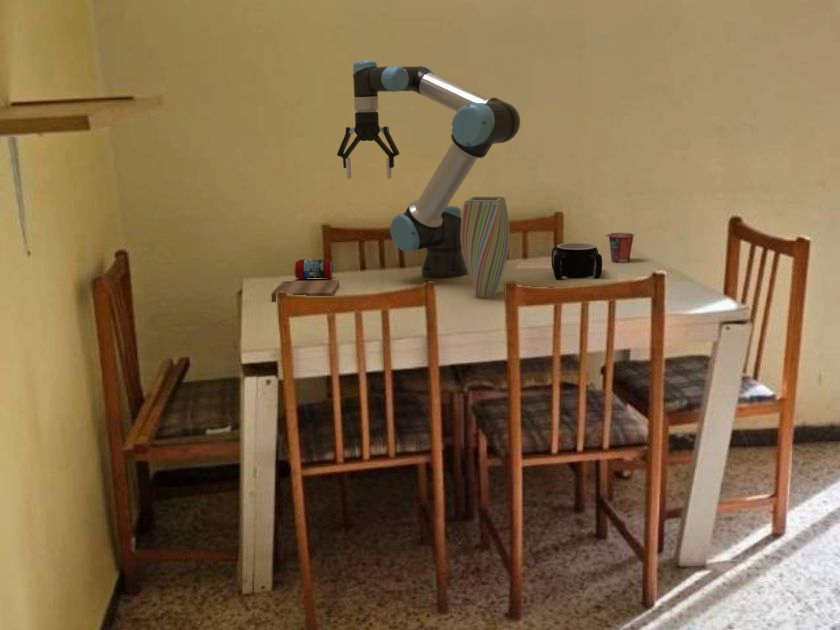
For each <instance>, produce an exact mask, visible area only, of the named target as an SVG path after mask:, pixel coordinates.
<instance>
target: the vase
mask: <svg viewBox="0 0 840 630" xmlns="http://www.w3.org/2000/svg"><path fill="white" fill-rule="evenodd" d="M462 206H463V207H462V211H461V218H462V219H461V245H462V254H463V257H464V260H465V263H466V266H467V272H468V274H469V276H470V279H471V283H472V285H473V289H474V293H475V295H474V296H475V298H476V299H477V298H480V299H481V298H482V299H483V298H495V297H496V295H497V291H498V288H499V285H500V283H501V280H502V276H503V273H504V269H505V266H506V264H507V263H506V262H507V258H508V252H509V245H510V223H509V213H508V207H507V201H506V199H505V198H504V197H503V196H471V197H470V198H468V199H467V200H465V201H464V202H463V205H462Z"/></svg>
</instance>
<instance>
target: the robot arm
mask: <svg viewBox="0 0 840 630" xmlns="http://www.w3.org/2000/svg"><path fill="white" fill-rule="evenodd" d="M377 65H378V64H377V61H375V60H363V61H362V60H359V61H358V60H357V61H355V62H354V63H353V67H352V68H353V70H352V78H353V94H354V95H353V96H354V101H353V102H354V111H356V112H355V113H354V121H355V125H354V127H352V126H346V128H345V134H344V137H343V139H342V141H341V143H340V147H339V149H338V150H337V154H336V156H337V157H340V158H342V164H343V168H344V169H346V170H345V173H346V179H349V180H350V179H352V164H351V163H352V161H351V160H352V159H351V157H349V156H350V155H351V154H352V152H353V151H354V150H355V148H356V147H357V146H358V144H359V143H360V142H366V141H367V142H373V141H374V142H375V143H376V144H377V145H378V146H379V147H380V149H382V151H383V152H384V153H385V154H386V155H387V157H386V178H387V180H390V179H392V169H394V168H395V157H397V156H399V155H400V152H399V149H398V147H397V145H396V143H395V142H394V139H393V138H392V136H391V133H390V127H388V125H386V126H382V127H380V125H379V124H380V121H379V112H378V110H379V97H378V96H379V95H378V94H379V93H380V92H387V93H388V92H391V93H393V92H395V93H396V92H397V93H398V92H414V93H416V94H418V95H421V96H422V97H425V98H427V99H430V100H431V101H433V102H436V103H437V104H440V105H443V106H444V107H446V108H448V109H451V110H453V111H455V114H454V116H453V117H452V121H451V126H452V128H451V135H450V138H451V142H452V143H451V145H450V147H449V148H448V150H447V152H446V153H445V155H444V157H443V158H442V159H441V162H440V163H439V164H438V166H437V168H436V169H435V171H434V173H433V175H431V178H430V180H429V182H427V185H426V186H425V188H424V189H423V191H422V193H421V194H420V196H419V198H418V199H417V200H413V201H411V202H410V203H409V205H408V206H407V208H406V209H405V211H404V213H403V214H402V213H400V214H397V215H395V216H394V217H393V218H392V221H391V223H390V227H389V228H390V229H389V230H390V234H391V238H392V241H393V243H394V244H395V246H396V247H397V248H398V249H400V250H401V251H404V252H415V251H417V250H423V249H425V250H426V251H425V256H424V260H423V262H422V267H421V276H422V277H424V278H427V279H453V278H458V277H463V276H466V275H467V274H468V268H467V265H466V262H465V259H464V255H463V251H462V245H461V219H462V211H461V210H462V209H461V208H460V207H458V206H455V205H454V206H452V205H449V204H450V202H451V200H453V198H454V196H455V194H456V193H457V191H459V188H460V187H461V185H462V183H463V182H464V180H465V179H466V177H467V175H468V174H469V173H470V171H471V169H472V168H473V166H474V164H475V163H476V162H477V160H478V159H483V158H485V157H486V155H487V154H488V152H489V150H490V149H491V148H492V146H493V145H494V144H503V143H506V142H508V141H510V140H513V139H514V137H516V135H517V134H518V132H519V129H520V127H521V118H520V115H519V114H520V113H519V112H518V110H517V109H516V107H514V106H513V105H512V104H511V103H509V102H506V101H504V100H502V99H499V98H497V97H494V96H493V97H490V98H488V97H486V96H484V95H481V94H479V93H477V92H475V91H473V90H470V89H468V88H466V87H465V86H464V87H463V86H461V85H459V84H457V83H455V82H452V81H450V80H448V79H446V78H444V77H441V76H439V75H437V74H435V73H434V71H432V69H431V68H430V67H426V66H422V65H418V66H399V65H389V66H377ZM380 132H381V134H383V135H384V138H385V139H386V142H387V144H388V145H389V147H390V148H389V147H388V146H387V144H386V143H385V142H384V141H383V140H382V138H381V137H380V136H379V134H380ZM354 133H355V134H356V136H355V138H354V139H353V140H352V142H351V143H350V145H349V146H348V144H349V141H350V138H351V136H352V134H354ZM347 146H348V148H347Z"/></svg>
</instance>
